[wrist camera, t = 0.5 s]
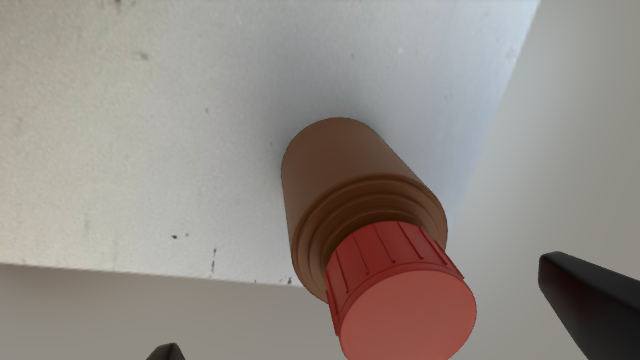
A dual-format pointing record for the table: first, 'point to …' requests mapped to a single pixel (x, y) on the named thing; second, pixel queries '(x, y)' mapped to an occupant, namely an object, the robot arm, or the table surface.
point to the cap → (397, 295)
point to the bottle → (347, 194)
